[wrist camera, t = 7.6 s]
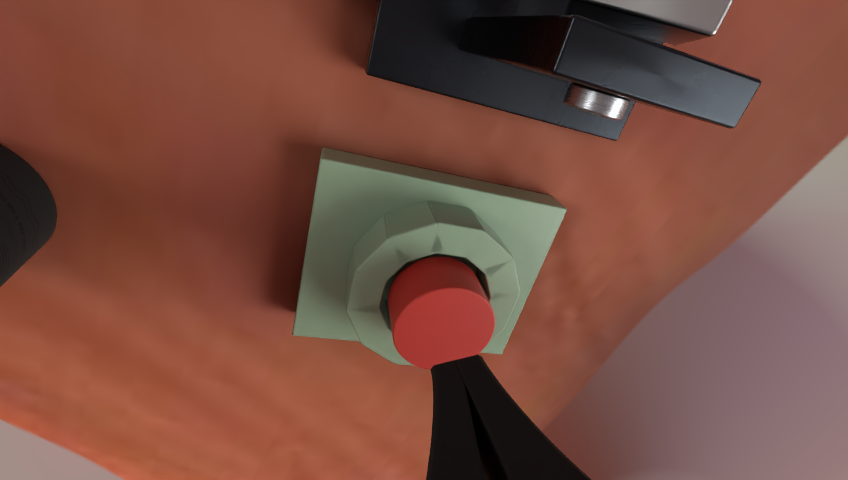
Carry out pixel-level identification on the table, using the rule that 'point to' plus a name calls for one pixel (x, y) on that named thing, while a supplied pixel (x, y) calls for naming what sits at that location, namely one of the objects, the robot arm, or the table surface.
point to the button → (439, 312)
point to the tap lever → (656, 17)
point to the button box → (413, 244)
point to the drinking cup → (22, 213)
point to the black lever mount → (547, 64)
